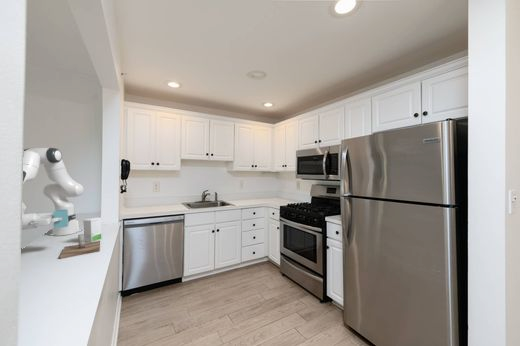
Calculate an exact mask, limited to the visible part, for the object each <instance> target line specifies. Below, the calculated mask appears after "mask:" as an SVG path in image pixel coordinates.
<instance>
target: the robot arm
mask: <svg viewBox="0 0 520 346" xmlns="http://www.w3.org/2000/svg"><path fill="white" fill-rule="evenodd" d="M23 150H24V157H23V184H24V183H25V182H29V181H32V180H34V179H35V178H36V177H37V175H38V172H39V169H40V165H43V167H44V170H45V172H46V175H47V177H48V179H49V180H51V181H52V182H54V183H51V184H50V183H49V184H46V185H45V186H44V188H43V192H42V193H43V194H44V196H45V197H46V198H48V199H50V200H51V202H52V203H53V206H54V209H55V210H65V209H68V223H69V225H68V226H67V227H62V228H54V222H55V221H61V220H62V217H58V218H54V216H53V212H47V213H45V212H43V213H40V212H34V213H26V210H27V206H26V204H25V202H23V201H22V229H21V230H32V229H37V228H38V227H42V226H49V225H51V224H52V223H53V224H52V233H50V234H49V236H54V237H58V236H59V237H60V236H67V235H68V236H69V235H72V234H76V233H78V232H82V231H83V230H82V228H81V227H80V224H79V221H78V220H77V219H76V218H77V217H76V212H75V204H74V202H71V201H69V199H68V198H76V197H80V196H82V195H83V193H84V191H85V187H84V186H83V185H82V184H81V183H79V182H78V181H75V180H74V179H73V178H72V177H71V176H70V174H69V173H68V170H67V168H66V165H65V163H64V161H63V155H62V152H61V151H60V150H59V148H55V147H35V148H34V147H33V148H24V149H23ZM55 210H54V211H55ZM81 230H82V231H81Z"/></svg>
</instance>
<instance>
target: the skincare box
mask: <svg viewBox="0 0 520 346" xmlns="http://www.w3.org/2000/svg"><path fill="white" fill-rule="evenodd" d="M102 229H103V228H102V218H101V217H91V218H87V219H83V234H84V237H85V243H90V242H95V241H101V240H102V239H103V233H102V232H103V230H102Z"/></svg>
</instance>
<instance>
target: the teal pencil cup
mask: <svg viewBox="0 0 520 346" xmlns="http://www.w3.org/2000/svg"><path fill="white" fill-rule="evenodd" d="M52 213H53V216H54V218H58V217H62V220H61V221H55V222H53V224H54V228H62V227H67V226H68V225H69V223H68V209H65V210H54V211H53V212H52Z"/></svg>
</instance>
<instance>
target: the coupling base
mask: <svg viewBox="0 0 520 346" xmlns="http://www.w3.org/2000/svg"><path fill="white" fill-rule="evenodd" d="M77 236H78V237H77V238H78V239H77V241H78V242H77V243H78V244H74V245H73V244H72V245H67V246H64V248H63V250H62V251H61V253H60V256H59V259H60V260H61V259H66V258H71V257H77V256H81V255H88V254H91V253H98V252H100V251H101V240H99V241H95V242H90V243H85V237H84V233H81V234H78V235H77Z"/></svg>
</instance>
